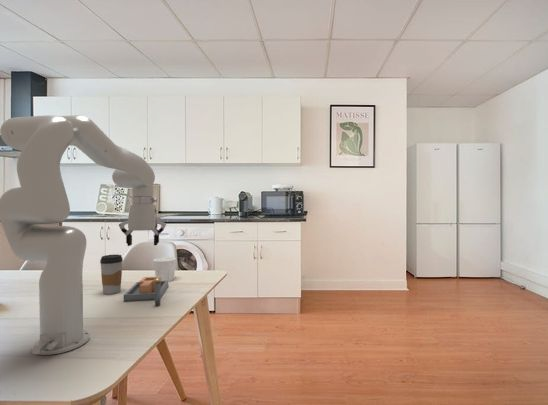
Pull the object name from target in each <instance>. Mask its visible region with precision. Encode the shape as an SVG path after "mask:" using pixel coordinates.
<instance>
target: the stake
mask: <svg viewBox="0 0 548 405" xmlns="http://www.w3.org/2000/svg"><path fill="white" fill-rule="evenodd" d="M160 281H161V278H154V282H155V300H154V307H159V306H161V299H160Z"/></svg>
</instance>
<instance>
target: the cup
mask: <svg viewBox="0 0 548 405" xmlns="http://www.w3.org/2000/svg"><path fill="white" fill-rule="evenodd" d="M176 260H177V258H176V257H173V256H164V257H163V256H162V257H157V258H154V259H153V267H154V275H155V276H154V277H161V281H168V283H170V282H171V281H174V280H175V274H176V273H175V272H176V271H175V270H176Z"/></svg>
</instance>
